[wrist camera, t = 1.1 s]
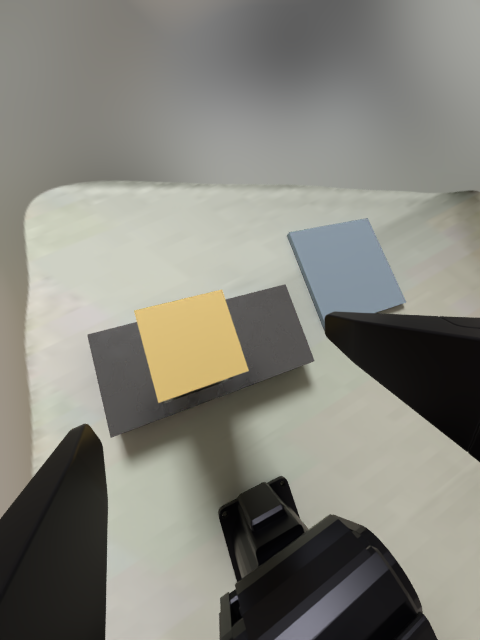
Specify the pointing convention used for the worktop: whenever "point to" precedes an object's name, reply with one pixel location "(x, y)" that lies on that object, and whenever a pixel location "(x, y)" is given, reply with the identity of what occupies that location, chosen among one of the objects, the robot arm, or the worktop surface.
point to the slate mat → (345, 268)
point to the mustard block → (190, 344)
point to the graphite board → (262, 361)
